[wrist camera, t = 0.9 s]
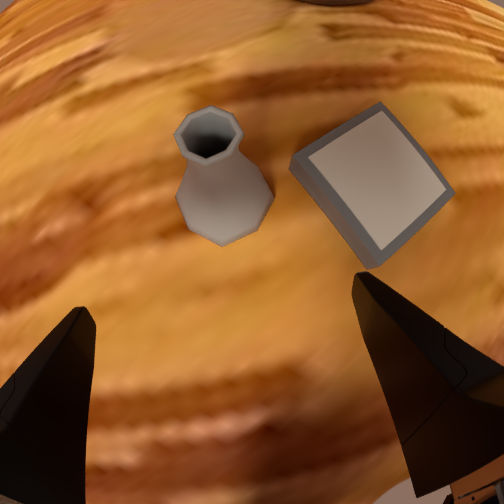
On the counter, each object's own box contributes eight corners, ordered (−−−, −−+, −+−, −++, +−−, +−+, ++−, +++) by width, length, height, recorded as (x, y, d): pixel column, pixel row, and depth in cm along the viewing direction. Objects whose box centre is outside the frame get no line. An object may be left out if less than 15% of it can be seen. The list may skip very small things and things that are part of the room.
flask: (227, 140, 24) (216, 58, 14) (291, 199, 24) (316, 135, 14) (160, 198, 24) (110, 139, 14) (221, 264, 23) (200, 239, 13)
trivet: (440, 201, 24) (456, 192, 21) (366, 269, 23) (380, 266, 20) (371, 116, 25) (381, 100, 22) (288, 169, 24) (292, 154, 21)
